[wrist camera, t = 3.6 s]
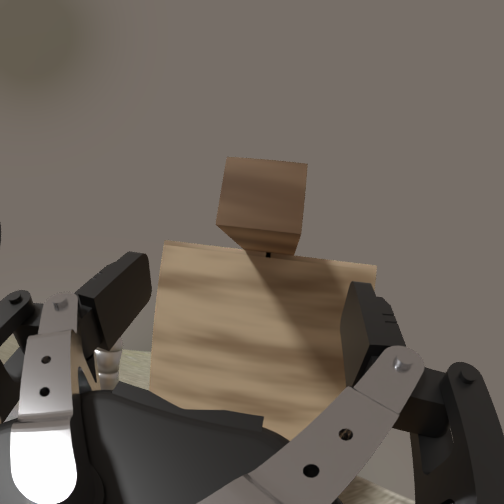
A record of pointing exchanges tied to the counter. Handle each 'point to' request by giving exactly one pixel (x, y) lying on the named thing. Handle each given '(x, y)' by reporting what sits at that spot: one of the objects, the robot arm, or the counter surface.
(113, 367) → the plastic bottle
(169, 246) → the wooden block
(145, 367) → the counter surface
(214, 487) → the robot arm
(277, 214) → the brown wooden bar
